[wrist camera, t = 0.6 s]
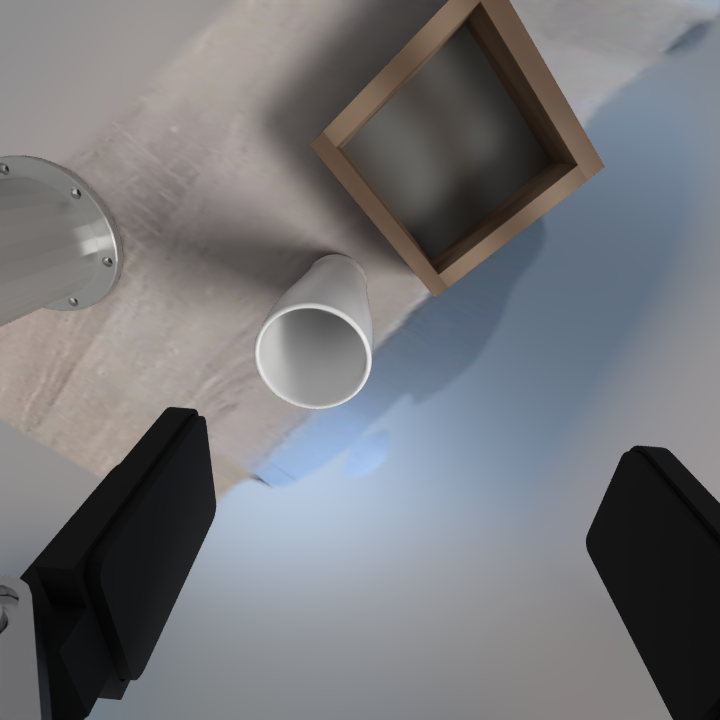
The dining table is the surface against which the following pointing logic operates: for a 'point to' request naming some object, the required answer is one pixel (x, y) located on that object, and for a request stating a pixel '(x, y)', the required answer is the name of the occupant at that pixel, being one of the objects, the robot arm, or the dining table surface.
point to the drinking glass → (318, 336)
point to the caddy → (459, 141)
